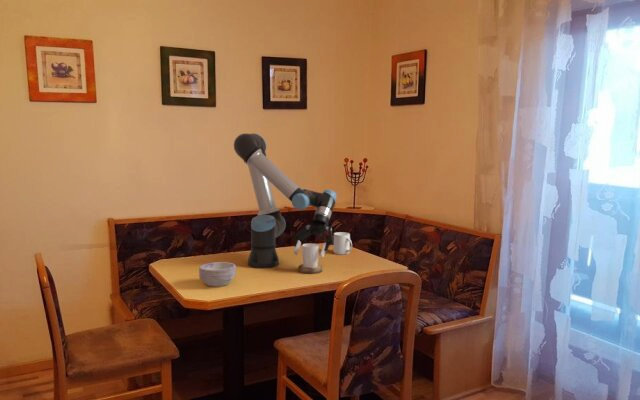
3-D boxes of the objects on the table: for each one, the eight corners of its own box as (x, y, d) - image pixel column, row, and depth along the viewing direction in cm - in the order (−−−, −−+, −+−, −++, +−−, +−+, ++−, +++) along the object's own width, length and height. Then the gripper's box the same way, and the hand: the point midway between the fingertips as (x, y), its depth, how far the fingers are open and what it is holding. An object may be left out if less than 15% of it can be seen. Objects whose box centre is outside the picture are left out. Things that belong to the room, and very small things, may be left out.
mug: (345, 257, 270) (346, 236, 268) (330, 252, 279) (330, 233, 277) (357, 254, 275) (357, 234, 274) (341, 250, 284) (342, 231, 283)
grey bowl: (206, 278, 227) (205, 260, 226) (239, 279, 226) (239, 261, 225) (194, 288, 212) (193, 269, 211) (230, 289, 211) (230, 270, 210)
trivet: (301, 274, 235) (301, 269, 234) (296, 268, 245) (296, 263, 245) (324, 273, 237) (324, 268, 237) (319, 267, 248) (319, 262, 248)
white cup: (299, 264, 243) (299, 244, 242) (314, 263, 246) (315, 242, 245) (305, 268, 236) (305, 247, 235) (321, 267, 239) (321, 246, 238)
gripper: (347, 224, 248) (335, 262, 236) (301, 220, 258) (287, 256, 246) (343, 215, 242) (331, 253, 230) (296, 211, 252) (281, 247, 240)
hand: (308, 254), depth 238 cm, fingers open, 13 cm apart
